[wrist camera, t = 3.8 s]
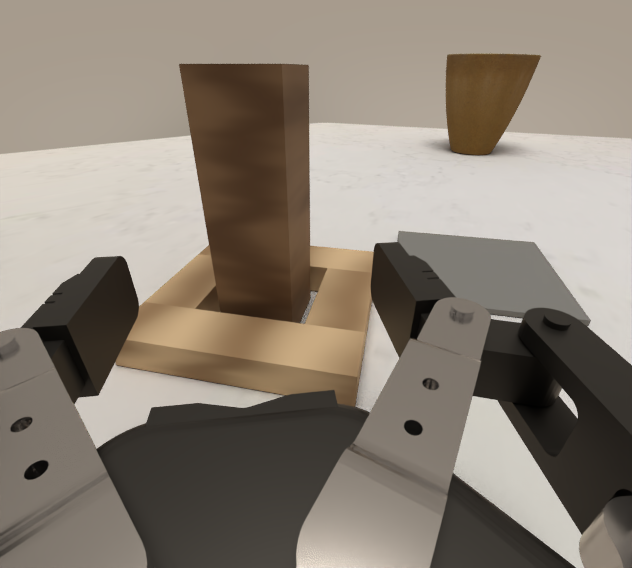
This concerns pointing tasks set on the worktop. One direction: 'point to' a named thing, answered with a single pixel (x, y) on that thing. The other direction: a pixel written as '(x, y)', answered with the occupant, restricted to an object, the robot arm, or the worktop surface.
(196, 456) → the robot arm
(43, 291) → the worktop surface
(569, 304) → the grey mat
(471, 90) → the plant pot
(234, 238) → the walnut post
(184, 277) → the oak socket
